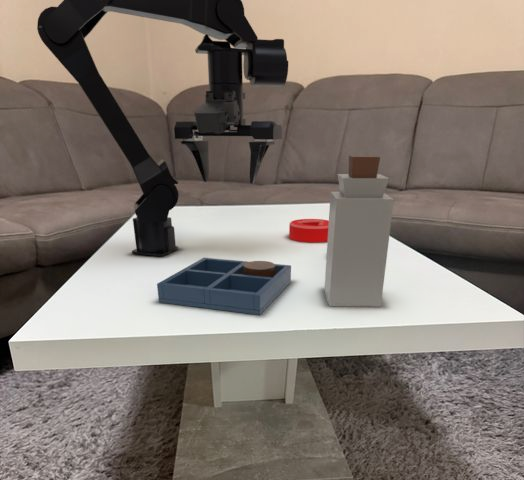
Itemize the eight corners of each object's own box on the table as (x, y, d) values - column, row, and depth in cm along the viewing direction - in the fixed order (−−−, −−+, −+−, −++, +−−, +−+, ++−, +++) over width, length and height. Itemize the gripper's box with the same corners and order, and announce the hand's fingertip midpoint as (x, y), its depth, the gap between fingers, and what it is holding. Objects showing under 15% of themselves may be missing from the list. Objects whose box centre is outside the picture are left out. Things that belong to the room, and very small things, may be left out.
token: (239, 284, 65) (238, 267, 64) (250, 275, 69) (249, 259, 68) (269, 287, 64) (269, 270, 63) (279, 278, 68) (279, 262, 67)
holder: (158, 302, 61) (156, 283, 60) (204, 273, 73) (203, 257, 72) (260, 315, 57) (260, 295, 56) (290, 282, 69) (291, 265, 68)
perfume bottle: (324, 289, 66) (333, 154, 58) (371, 290, 66) (386, 154, 58) (329, 306, 60) (339, 157, 52) (380, 306, 60) (398, 158, 52)
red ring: (284, 233, 101) (284, 219, 100) (326, 232, 103) (327, 217, 101) (295, 243, 92) (296, 227, 91) (340, 241, 94) (341, 225, 93)
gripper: (152, 82, 73) (161, 185, 80) (262, 79, 68) (262, 189, 75) (184, 87, 83) (190, 179, 89) (283, 85, 77) (281, 182, 84)
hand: (228, 182), depth 84 cm, fingers open, 9 cm apart
